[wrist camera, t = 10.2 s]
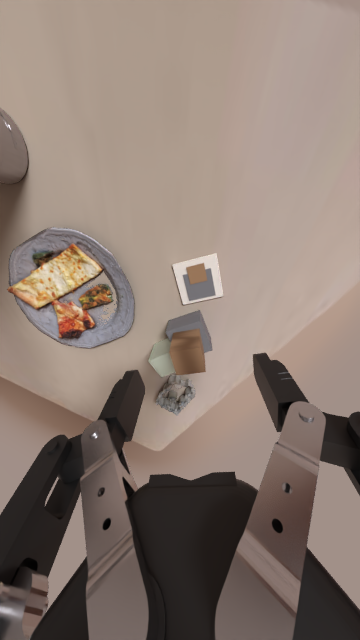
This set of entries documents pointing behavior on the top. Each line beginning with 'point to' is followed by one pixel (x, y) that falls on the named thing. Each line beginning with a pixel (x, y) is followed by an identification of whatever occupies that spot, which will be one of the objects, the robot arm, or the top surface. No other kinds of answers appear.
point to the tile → (198, 279)
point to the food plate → (70, 288)
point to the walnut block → (187, 352)
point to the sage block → (162, 358)
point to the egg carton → (175, 395)
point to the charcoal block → (190, 327)
